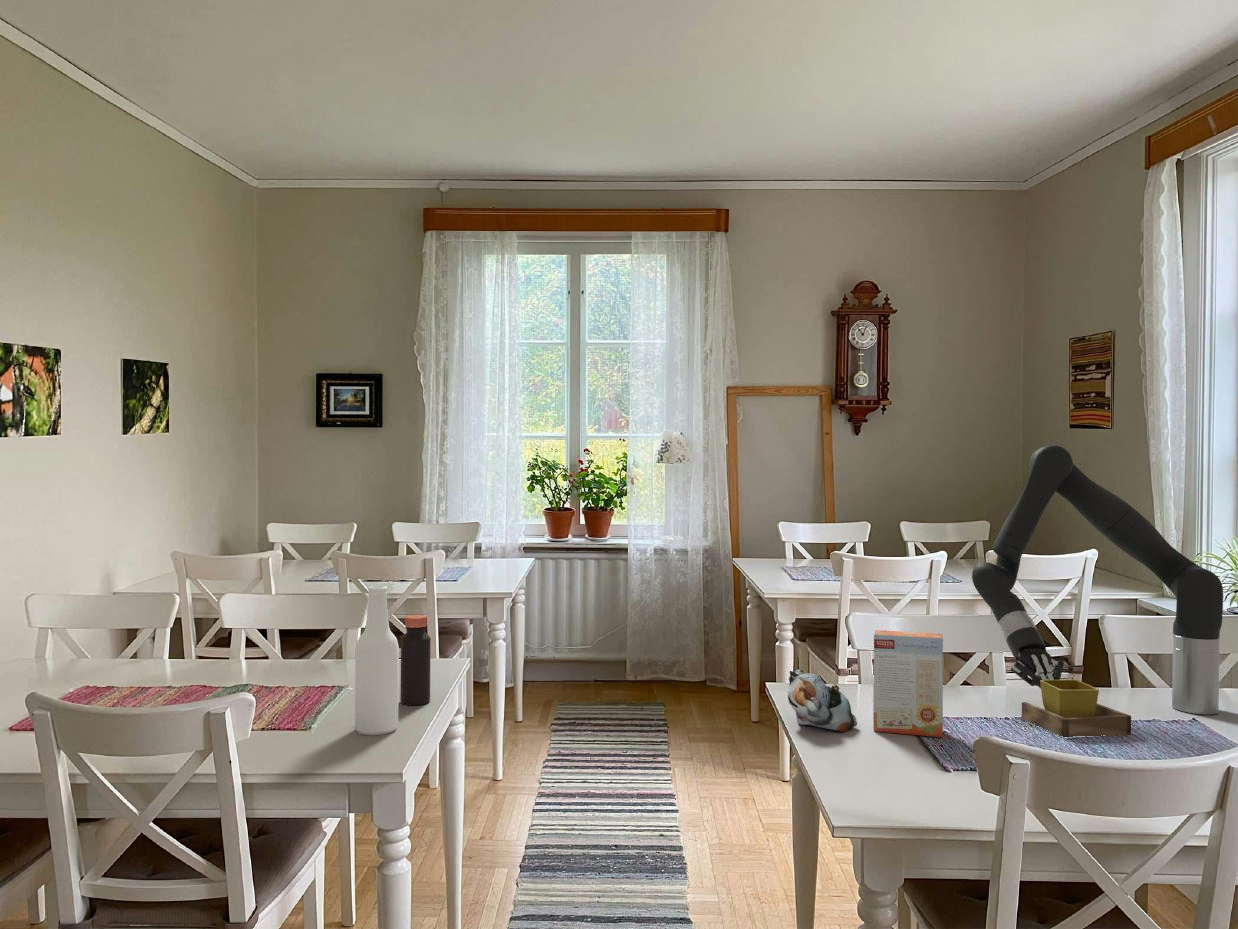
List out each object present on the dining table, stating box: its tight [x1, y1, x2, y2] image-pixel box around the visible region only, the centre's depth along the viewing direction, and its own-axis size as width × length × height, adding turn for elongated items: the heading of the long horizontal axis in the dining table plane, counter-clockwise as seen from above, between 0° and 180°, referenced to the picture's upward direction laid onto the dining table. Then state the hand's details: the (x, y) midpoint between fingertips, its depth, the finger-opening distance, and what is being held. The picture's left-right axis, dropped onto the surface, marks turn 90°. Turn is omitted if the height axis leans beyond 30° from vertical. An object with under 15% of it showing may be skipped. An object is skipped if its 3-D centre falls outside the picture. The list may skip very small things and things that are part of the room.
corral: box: [1021, 701, 1132, 737], centre depth 200 cm, size 14×16×4 cm
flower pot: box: [1040, 679, 1100, 718], centre depth 201 cm, size 9×9×9 cm
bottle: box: [399, 614, 432, 706], centre depth 216 cm, size 7×7×20 cm
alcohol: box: [354, 585, 400, 736], centre depth 193 cm, size 9×9×30 cm
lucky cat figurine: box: [787, 668, 858, 733], centre depth 199 cm, size 15×12×14 cm
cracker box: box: [872, 629, 944, 738], centre depth 196 cm, size 14×6×21 cm, turn 71°
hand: (1054, 700), depth 206 cm, fingers closed
